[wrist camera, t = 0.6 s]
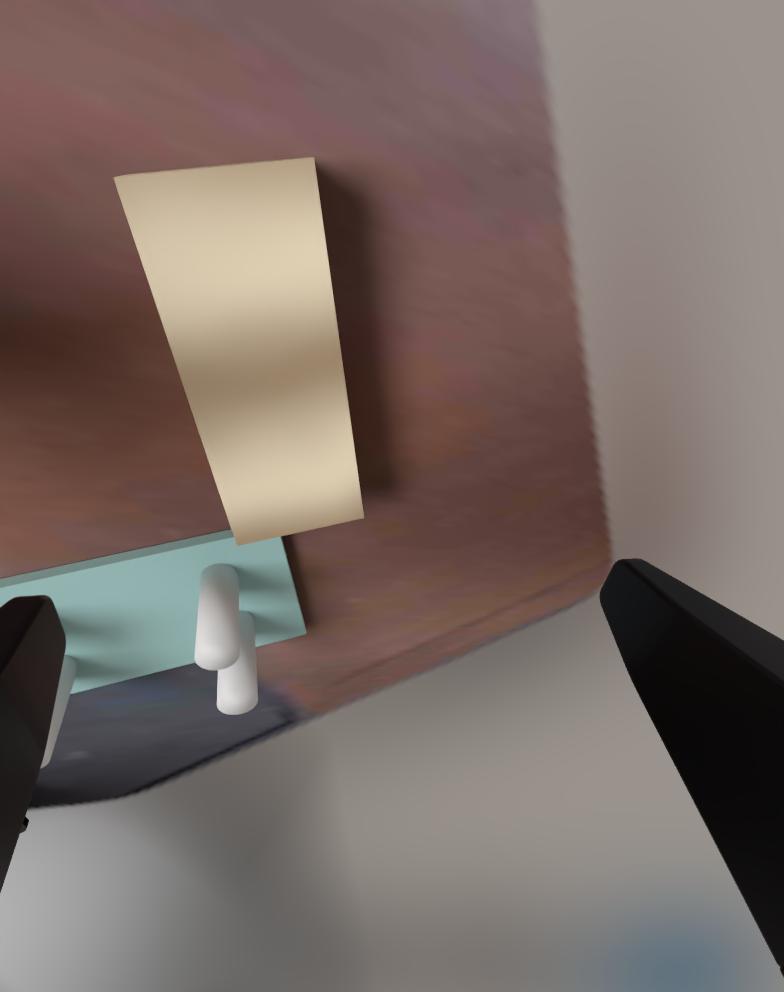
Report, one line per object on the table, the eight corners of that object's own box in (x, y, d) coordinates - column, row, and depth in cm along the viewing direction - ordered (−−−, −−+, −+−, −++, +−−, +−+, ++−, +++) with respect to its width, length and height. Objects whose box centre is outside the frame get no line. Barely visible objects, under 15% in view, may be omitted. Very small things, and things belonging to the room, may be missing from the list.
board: (349, 479, 23) (363, 518, 20) (236, 502, 22) (236, 546, 19) (301, 157, 16) (313, 157, 13) (132, 173, 15) (113, 177, 12)
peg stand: (13, 698, 24) (-31, 807, 20) (-77, 595, 20) (-155, 706, 16) (305, 625, 26) (318, 710, 22) (277, 519, 22) (286, 599, 18)
